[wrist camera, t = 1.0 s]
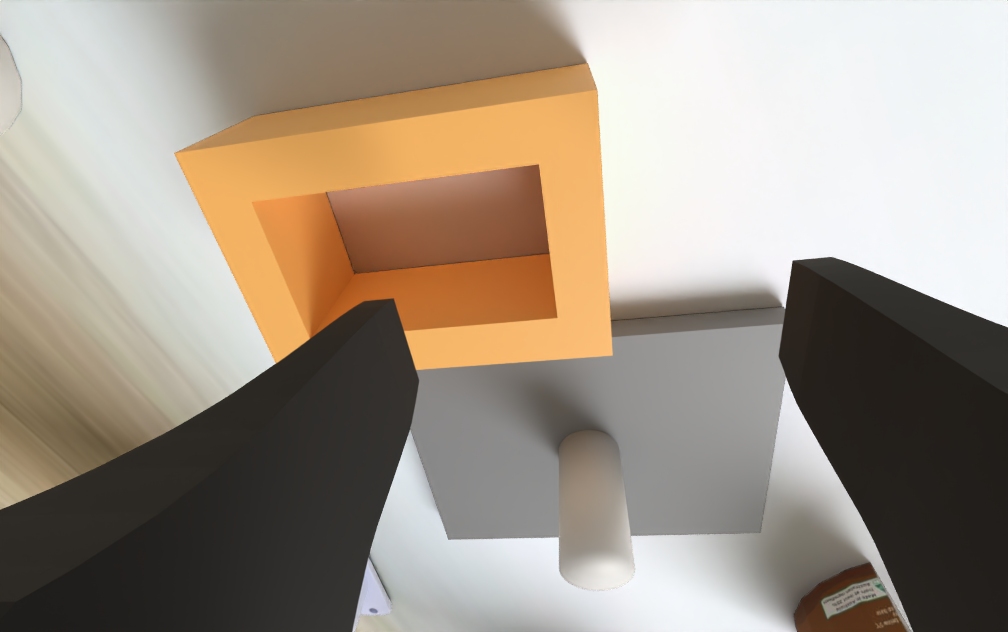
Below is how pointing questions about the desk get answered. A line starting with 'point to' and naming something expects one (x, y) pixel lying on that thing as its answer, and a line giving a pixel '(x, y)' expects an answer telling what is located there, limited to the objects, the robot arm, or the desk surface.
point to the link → (408, 157)
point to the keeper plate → (634, 396)
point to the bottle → (8, 88)
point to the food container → (850, 605)
